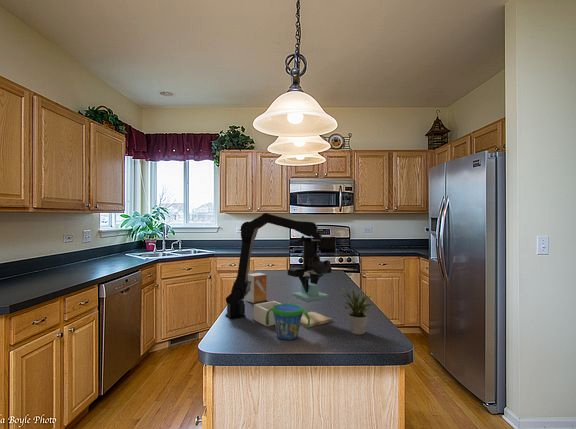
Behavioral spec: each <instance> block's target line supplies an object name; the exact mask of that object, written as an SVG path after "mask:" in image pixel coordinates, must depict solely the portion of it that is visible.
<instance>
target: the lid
mask: <svg viewBox="0 0 576 429" xmlns="http://www.w3.org/2000/svg"><path fill="white" fill-rule="evenodd" d="M319 288H320V287H319V284H318V283H317V284H313V283H311V282H309V283H308V293H306V292H305V290H304V287H303V285H302V284H301V291H297V292H291V296H292V297H295V298H296V299H298V300H301V301H304V302H307V303H312V302H317V301H323V300H325V298H326V299H327V298H329V294H328V293H324V292H320V291H319Z"/></svg>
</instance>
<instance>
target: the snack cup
mask: <svg viewBox="0 0 576 429" xmlns="http://www.w3.org/2000/svg"><path fill="white" fill-rule="evenodd" d="M271 310H272V311H273V313H274V319H275V324H274V325H275V327H274V328H275V334H276V337H278V338H279V339H280V340H289V341H290V340H291V341H292V340H294V339H296V338H298V337H299V331H300V326H301V325H300V321H301V317H302V314H305V316H306V317H307V319H308V327H306V330H309V328H310V327H309V326H310V318H309V315H308V313H309V312H308V311H306V310H305V309H304V308H303V307H302V306H301V305H299V304H296V303H295V304H294V303H281V304H278V305H275V306H274V307H272V308H271V309H269V310H268V312H267V314H266V325H268V324H269V317H268V315H269V312H270V311H271Z"/></svg>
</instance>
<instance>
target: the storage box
mask: <svg viewBox="0 0 576 429" xmlns="http://www.w3.org/2000/svg"><path fill="white" fill-rule="evenodd" d="M278 304H282V303H281V302H278V301H275V300H271V301H267V302H265V301H264V302H259V303H253V320H254V321H256V322H258V323H260V324H262V325H263V326H265V327H269V326H273V325H275V319H274V313H273V311H272V310H271V311H270V312H269V315H268V317H269V324H268V325H266V314H267V312H268V310H269V309H271V308H272V307H274V306H275V305H278Z"/></svg>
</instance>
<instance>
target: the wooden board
mask: <svg viewBox="0 0 576 429" xmlns="http://www.w3.org/2000/svg"><path fill="white" fill-rule="evenodd" d="M307 313H308V315H309V318H310V326H309V328H312V327H315V326H318V325H323V324H326V323H327V324H328V323H330V322H333V318H331V317H328V316H326V315H323V314H320V313H319V312H315V311H309V312H307ZM300 326H303V327H304V328H307V327H308V319H307V317H306V316H305V314H304V313H302V317H301V321H300Z"/></svg>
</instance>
